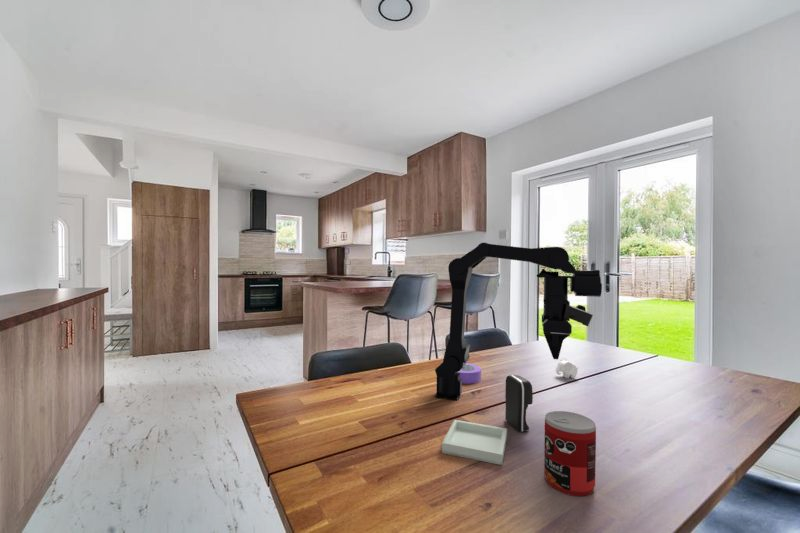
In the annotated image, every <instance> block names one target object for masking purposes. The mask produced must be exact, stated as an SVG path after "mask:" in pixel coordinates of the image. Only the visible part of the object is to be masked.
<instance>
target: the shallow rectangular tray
mask: <svg viewBox="0 0 800 533" xmlns="http://www.w3.org/2000/svg"><path fill="white" fill-rule="evenodd" d="M507 439H508V428H505V427H499V426H494V425H488V424H483V423H476V422H470V421H464V420H458V419H454V420H453V421H452V423H451V425H450V428H449V430H448V432H446V435H445V436H444V439H443V440H442V442H441V444H442V445H441V451H442V452H441V453H442V454H446V455H450V456H455V457H461V458H463V459H464V458H465V459H469V460H473V461H474V460H475V461H480V462H484V463H489V464H493V465H499V466H503V463H504V459H505V452H506V445H507Z"/></svg>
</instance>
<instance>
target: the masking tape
mask: <svg viewBox="0 0 800 533" xmlns="http://www.w3.org/2000/svg"><path fill="white" fill-rule="evenodd" d="M457 373H460V379H462V384H464V385H465V384H469V385H470V384H477V383H480V382H481V381H482V368H481V366H479V365H476V364H474V363H468V362H466V364H465V365H464V366H463V367H462V369H461V370H460V371H458V372H457Z"/></svg>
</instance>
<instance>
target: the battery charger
mask: <svg viewBox="0 0 800 533" xmlns="http://www.w3.org/2000/svg"><path fill="white" fill-rule="evenodd" d="M533 392H534V391H533V385H532V384H531V382H530V380H528V379H526V378H524V377H523V376H520V375H519V374H517V375H516V374H515V375H513V374H509V375H507V376H506V378H505V392H504V394H505V417H504V418H505V421H507V423H509V425H511V427H513V428H514V429H515V430H516V431H517V432H522V433H523V432H527V431H529V430H530V426H529V425H528V423H527V417H526V416H527V409H528V408H529V405H532V404H533V402H534V400H533V398H534V397H533V394H534V393H533Z"/></svg>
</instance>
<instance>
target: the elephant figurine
mask: <svg viewBox="0 0 800 533" xmlns="http://www.w3.org/2000/svg"><path fill="white" fill-rule="evenodd" d="M578 369H580V366H579V367H577V366H576V364H574V363H573V362H571V361H568V359H567V358H564V357H562V358H561V359H560V360H559V362H558V363H557V366H556V367H555V372H556V374H557V375H561V374H562V376H563V377H564V378H565V379H570V378H571V379H573V380H575V378H576V377H577V375H578ZM561 372H562V373H561Z"/></svg>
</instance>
